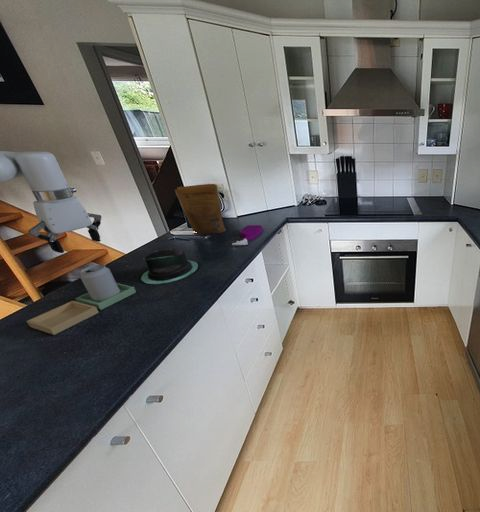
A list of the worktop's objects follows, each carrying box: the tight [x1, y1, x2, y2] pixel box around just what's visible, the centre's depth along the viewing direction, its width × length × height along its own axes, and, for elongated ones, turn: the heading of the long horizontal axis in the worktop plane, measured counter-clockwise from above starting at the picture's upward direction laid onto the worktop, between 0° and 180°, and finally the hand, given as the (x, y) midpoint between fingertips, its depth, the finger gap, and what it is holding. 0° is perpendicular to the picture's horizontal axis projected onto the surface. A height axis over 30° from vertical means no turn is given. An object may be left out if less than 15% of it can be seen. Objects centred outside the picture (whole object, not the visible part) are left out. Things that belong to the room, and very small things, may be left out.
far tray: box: [75, 282, 137, 311], centre depth 99 cm, size 11×11×2 cm
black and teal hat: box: [140, 248, 199, 285], centre depth 117 cm, size 15×19×20 cm
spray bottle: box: [231, 224, 264, 246], centre depth 152 cm, size 3×11×24 cm
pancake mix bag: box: [174, 183, 227, 236], centre depth 151 cm, size 7×19×28 cm, turn 112°
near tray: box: [26, 300, 100, 336], centre depth 88 cm, size 11×11×2 cm
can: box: [79, 264, 120, 302], centre depth 97 cm, size 8×8×12 cm
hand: (79, 246), depth 90 cm, fingers open, 9 cm apart
